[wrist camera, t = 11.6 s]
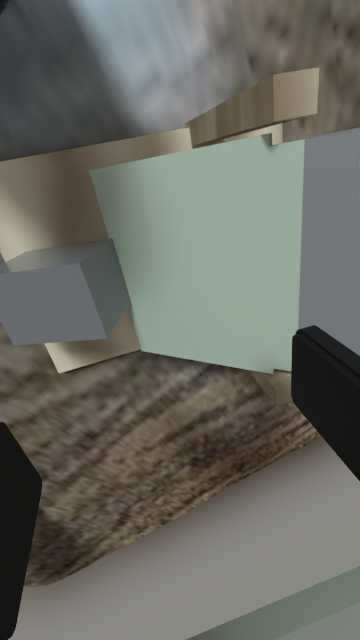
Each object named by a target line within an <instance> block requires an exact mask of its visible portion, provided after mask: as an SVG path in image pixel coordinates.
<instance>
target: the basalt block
mask: <svg viewBox="0 0 360 640" xmlns="http://www.w3.org/2000/svg"><path fill="white" fill-rule="evenodd" d="M130 303H131V299H130V296H129V293H128V289H127V286H126V283H125V279H124V276H123V273H122V269H121V266H120V263H119V259H118V256H117V253H116V249H115V246H114V243H113V239H112V238H109V239H103V240H96V241H90V242H84V243H77V244H71V245H65V246H58V247H52V248H45V249H39V250H33V251H26V252H24V253H22V254H20V255H18V256H16V257H14V258H13V259H11V260H9V261H7V262H5V263H3V264H1V265H0V322H1V323H2V325H3V327H4V329H5V330H6V332H7V334H8V336H9V337H10V339H11V341H12V343H13V344H14V345H25V344H39V343H53V342H68V341H82V340H96V339H108V337H109V336H110V334H111V333H112V331H113V329H114V328H115V326H116V325H117V323H118V322H119V320H120V319H121V317H122V316H123V314H124V313H125V311H126V309H127V308H128V306H129V305H130Z"/></svg>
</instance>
